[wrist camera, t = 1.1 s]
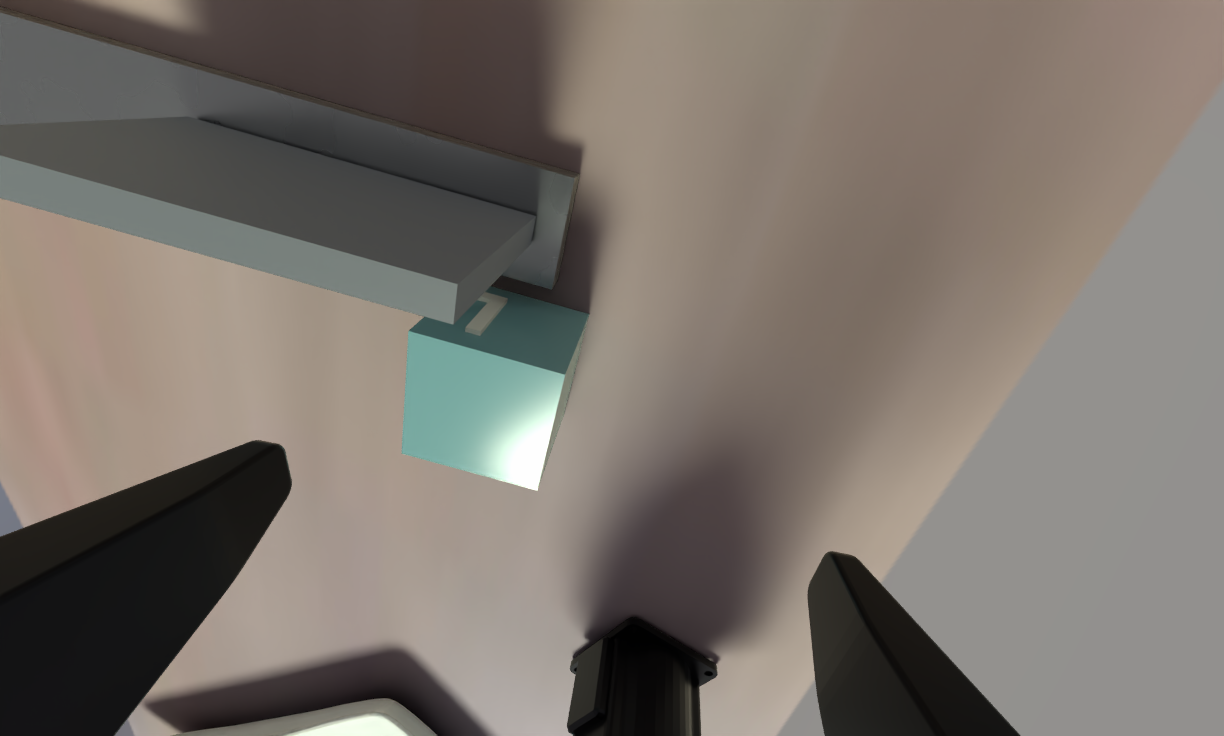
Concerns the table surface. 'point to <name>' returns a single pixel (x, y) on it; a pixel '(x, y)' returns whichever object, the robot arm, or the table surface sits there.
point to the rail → (270, 123)
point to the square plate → (333, 722)
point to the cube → (491, 386)
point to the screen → (268, 208)
